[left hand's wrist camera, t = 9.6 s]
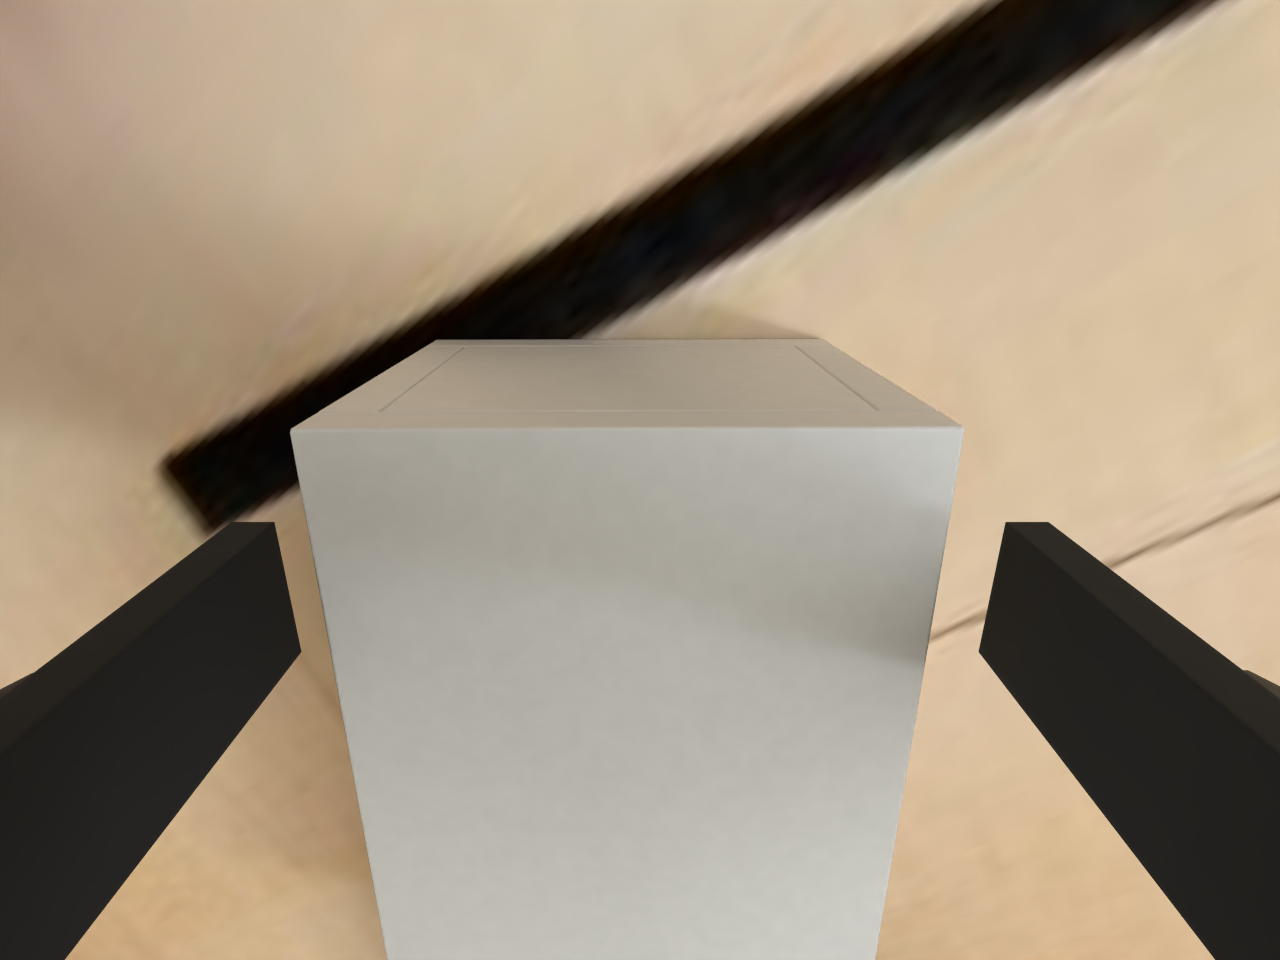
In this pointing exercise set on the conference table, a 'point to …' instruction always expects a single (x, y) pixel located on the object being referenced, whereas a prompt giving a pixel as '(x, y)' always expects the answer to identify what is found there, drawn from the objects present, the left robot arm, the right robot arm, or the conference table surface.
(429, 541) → the cabinet
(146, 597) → the left robot arm
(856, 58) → the conference table surface
